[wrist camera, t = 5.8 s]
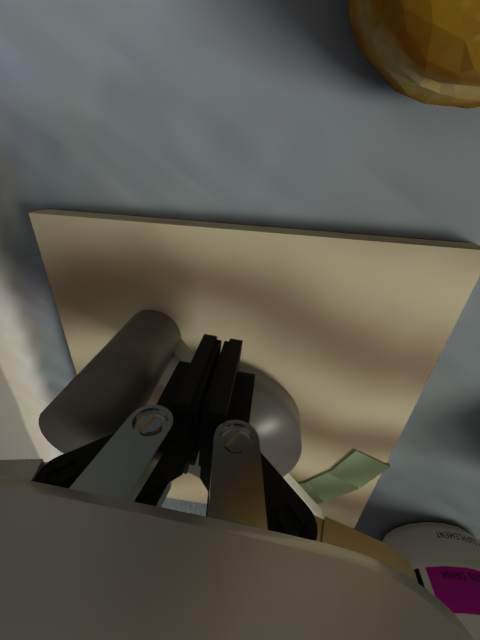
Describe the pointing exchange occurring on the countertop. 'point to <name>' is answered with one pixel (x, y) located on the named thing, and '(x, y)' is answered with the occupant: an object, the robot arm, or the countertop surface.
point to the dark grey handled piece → (157, 367)
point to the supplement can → (444, 566)
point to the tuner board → (276, 322)
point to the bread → (423, 47)
